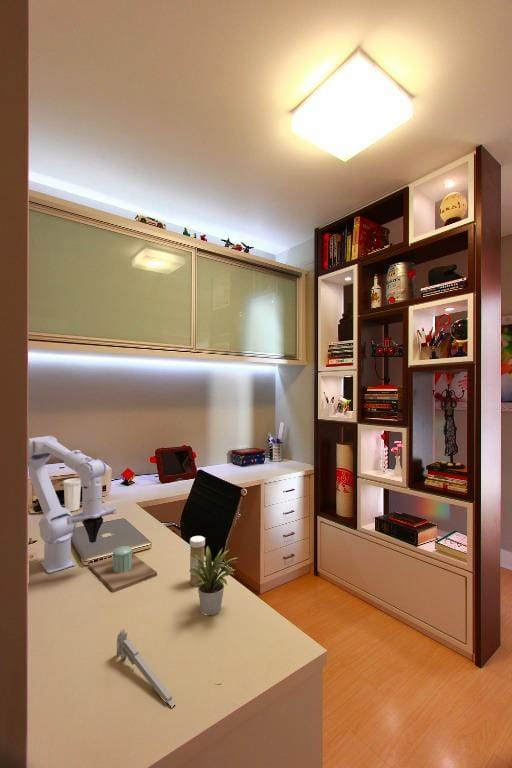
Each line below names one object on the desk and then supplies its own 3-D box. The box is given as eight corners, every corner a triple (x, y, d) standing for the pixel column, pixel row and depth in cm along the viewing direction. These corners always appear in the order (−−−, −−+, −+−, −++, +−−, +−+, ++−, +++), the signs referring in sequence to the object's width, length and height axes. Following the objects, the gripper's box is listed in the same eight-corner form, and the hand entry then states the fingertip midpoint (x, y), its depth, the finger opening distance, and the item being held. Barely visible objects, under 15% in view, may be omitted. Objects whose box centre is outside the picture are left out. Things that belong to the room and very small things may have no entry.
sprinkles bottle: (207, 583, 111) (207, 539, 111) (193, 588, 108) (193, 542, 108) (200, 577, 115) (201, 534, 115) (187, 581, 112) (187, 537, 112)
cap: (110, 568, 118) (110, 549, 118) (127, 562, 122) (127, 544, 122) (117, 574, 114) (117, 555, 114) (134, 568, 118) (134, 550, 118)
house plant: (221, 636, 87) (221, 568, 87) (172, 622, 92) (173, 557, 93) (245, 604, 100) (245, 544, 101) (201, 593, 106) (201, 536, 106)
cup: (58, 512, 173) (59, 482, 173) (70, 506, 181) (70, 477, 181) (74, 513, 172) (74, 482, 172) (85, 507, 180) (85, 478, 180)
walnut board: (88, 567, 120) (88, 564, 120) (129, 554, 130) (129, 551, 130) (113, 592, 106) (113, 588, 106) (157, 575, 115) (157, 572, 115)
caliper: (116, 656, 81) (116, 628, 81) (120, 654, 82) (120, 626, 82) (171, 710, 68) (171, 676, 68) (176, 706, 68) (176, 672, 68)
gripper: (71, 506, 108) (72, 552, 108) (119, 496, 118) (120, 538, 118) (64, 501, 113) (64, 545, 113) (111, 492, 123) (111, 532, 123)
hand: (92, 541), depth 116 cm, fingers closed
